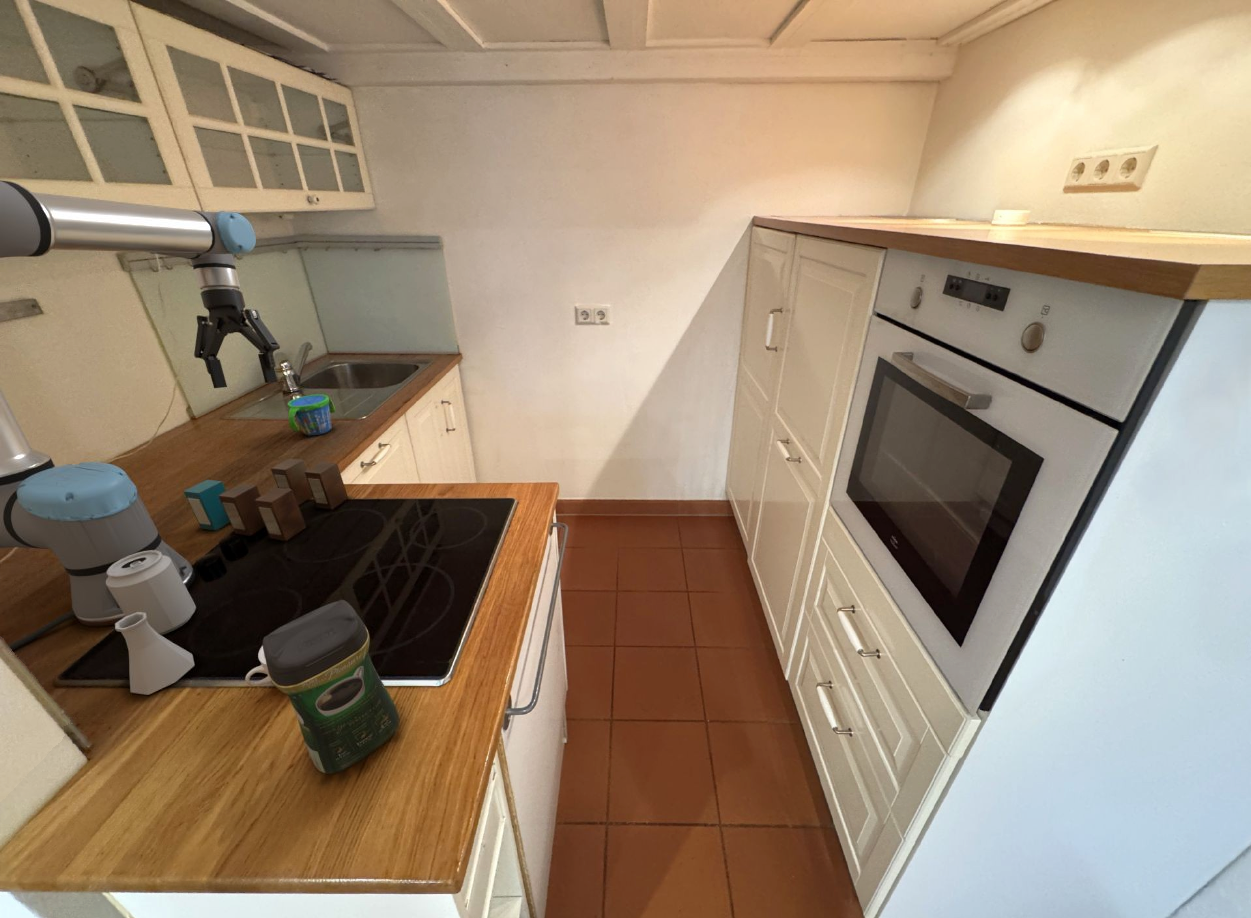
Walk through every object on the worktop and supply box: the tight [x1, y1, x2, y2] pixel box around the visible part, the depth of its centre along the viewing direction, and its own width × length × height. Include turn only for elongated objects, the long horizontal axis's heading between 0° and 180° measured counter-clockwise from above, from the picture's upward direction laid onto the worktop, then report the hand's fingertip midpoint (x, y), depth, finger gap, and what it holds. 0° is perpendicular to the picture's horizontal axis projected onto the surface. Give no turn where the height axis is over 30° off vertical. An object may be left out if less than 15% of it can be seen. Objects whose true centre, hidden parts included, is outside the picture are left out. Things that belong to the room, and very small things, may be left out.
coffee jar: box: [262, 599, 400, 775], centre depth 57 cm, size 10×8×19 cm
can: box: [106, 550, 197, 636], centre depth 77 cm, size 8×8×12 cm
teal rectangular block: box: [183, 479, 231, 531], centre depth 104 cm, size 5×4×9 cm
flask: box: [114, 612, 195, 696], centre depth 68 cm, size 7×7×10 cm
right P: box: [304, 461, 349, 510], centre depth 110 cm, size 5×4×9 cm
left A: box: [218, 483, 266, 536], centre depth 102 cm, size 5×4×9 cm
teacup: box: [244, 645, 272, 687], centre depth 68 cm, size 10×8×5 cm
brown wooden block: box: [254, 487, 307, 542], centre depth 100 cm, size 5×4×9 cm
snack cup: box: [287, 394, 336, 437], centre depth 149 cm, size 16×10×10 cm
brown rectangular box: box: [270, 458, 313, 506], centre depth 112 cm, size 5×4×9 cm
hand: (245, 385), depth 117 cm, fingers open, 13 cm apart
